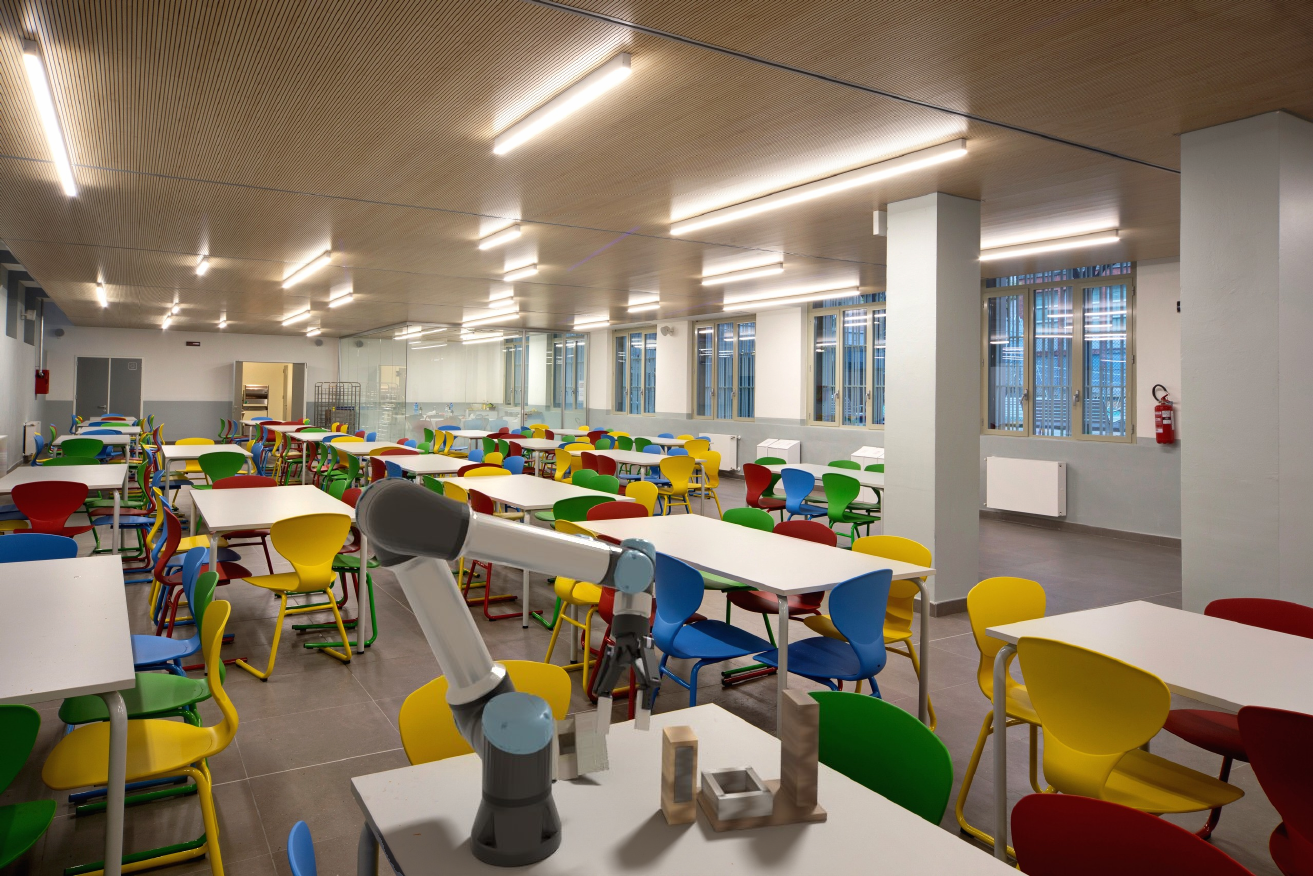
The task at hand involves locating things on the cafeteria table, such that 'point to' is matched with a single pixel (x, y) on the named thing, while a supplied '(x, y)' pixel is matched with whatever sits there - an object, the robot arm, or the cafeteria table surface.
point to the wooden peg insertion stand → (790, 799)
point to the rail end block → (679, 774)
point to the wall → (578, 747)
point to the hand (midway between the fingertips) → (621, 732)
